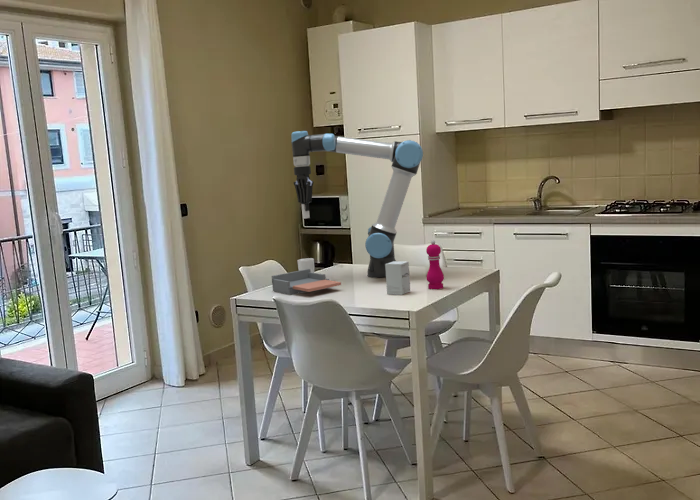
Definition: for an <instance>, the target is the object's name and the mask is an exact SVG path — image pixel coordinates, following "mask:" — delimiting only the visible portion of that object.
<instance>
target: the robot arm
mask: <svg viewBox="0 0 700 500" xmlns="http://www.w3.org/2000/svg"><path fill="white" fill-rule="evenodd" d="M291 150H292V159H293V166H294V167H293V175H294V176H296V180H295V181H293V185H294V188H295V189H294V190H295V194H296V197H297V202H298V203H300V204H301V211H302V219H305V220H306V219H311V217H310V203H312V201H313V187H314V181H313V180H311V178H310V175H311V174H312V170H311V166H310V165H311V156H310V153H314V152H330V153H337V154H344V155H345V154H346V155H354V156H360V157H368V158H373V159H374V158H376V159H383V160H389V161H390V162H391V163H392V164H391V169H392V170H393V171H392V174H391V178H390V180H389V183H388V187H387V190H386V192H385V196H384V199H383V202H382V204H381V207H380V211H379V214H378V217H377V219H376V221H375V222H374V223H372V224H371V226H369V227H368V229H367V235H368V236H367V238H366V240H365V250H366V252H367V253H368V255H369V262H368V263H369V264H368V267H367V272H366V273H367V276H368V278H369V277H370V278H386V268H385V264H387V263H390V262H393V261H397V260H396V258H395V243H394V242H395V239H396V236H397V230H396V226H397V222H398V220H399V216H400V214H401V211H402V207H403V205H404V202H405V198H406V195H407V193H408V189H409V187H410V184H411V180H412V178H413V177H414V176H417V174H418V170H419V167H420V165H421V162H422V160H423V158H424V157H423V156H424V151H423V148H422V146H421V145H420V143H418V142H417V141H415V140H411V139H409V140H408V139H407V140H403V141H396V140H394V141H392V142H387V141H377V140H370V139H369V140H368V139H363V138H362V139H361V138H354V137H347V136H346V137H345V136H339V135H338V136H337V135H335V134H334V133H320V134H309V133H308V131H307V130H301V131H299V130H297V131H293V132H292V133H291Z"/></svg>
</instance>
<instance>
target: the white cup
mask: <svg viewBox="0 0 700 500" xmlns="http://www.w3.org/2000/svg"><path fill="white" fill-rule="evenodd" d="M296 262H297V268H298V271H300V270H306V269H310V271H311V272H312V273H315V258H312V257H310V258H309V257H308V258H300V259H297V261H296Z"/></svg>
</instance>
